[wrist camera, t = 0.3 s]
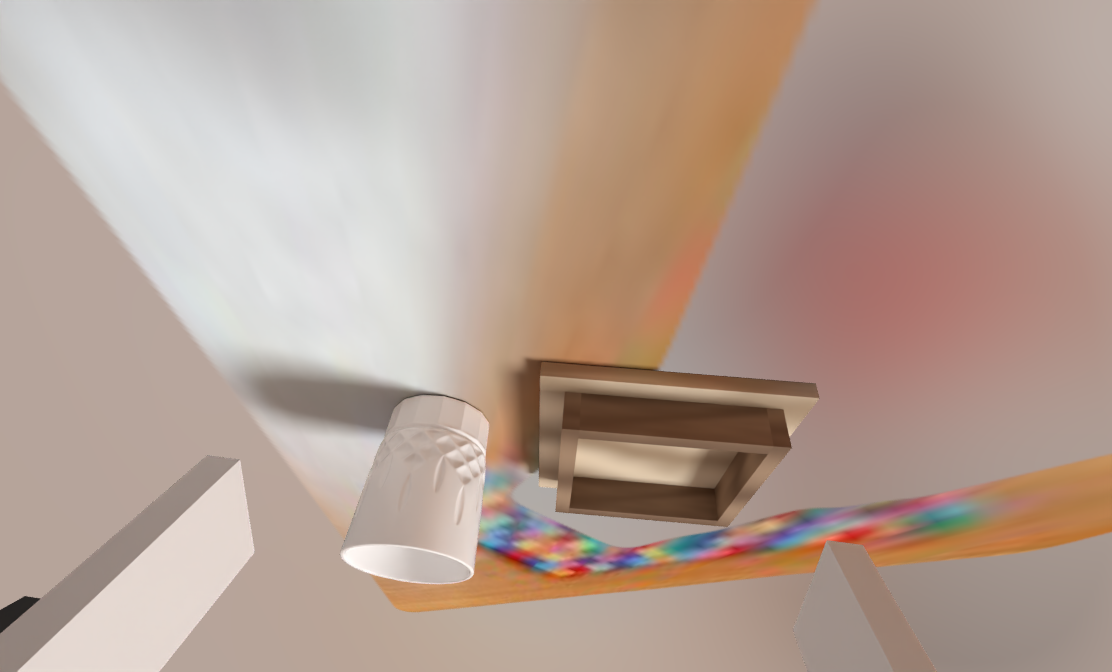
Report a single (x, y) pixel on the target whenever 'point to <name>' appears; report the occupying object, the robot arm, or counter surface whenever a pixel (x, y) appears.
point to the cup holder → (662, 440)
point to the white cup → (422, 495)
